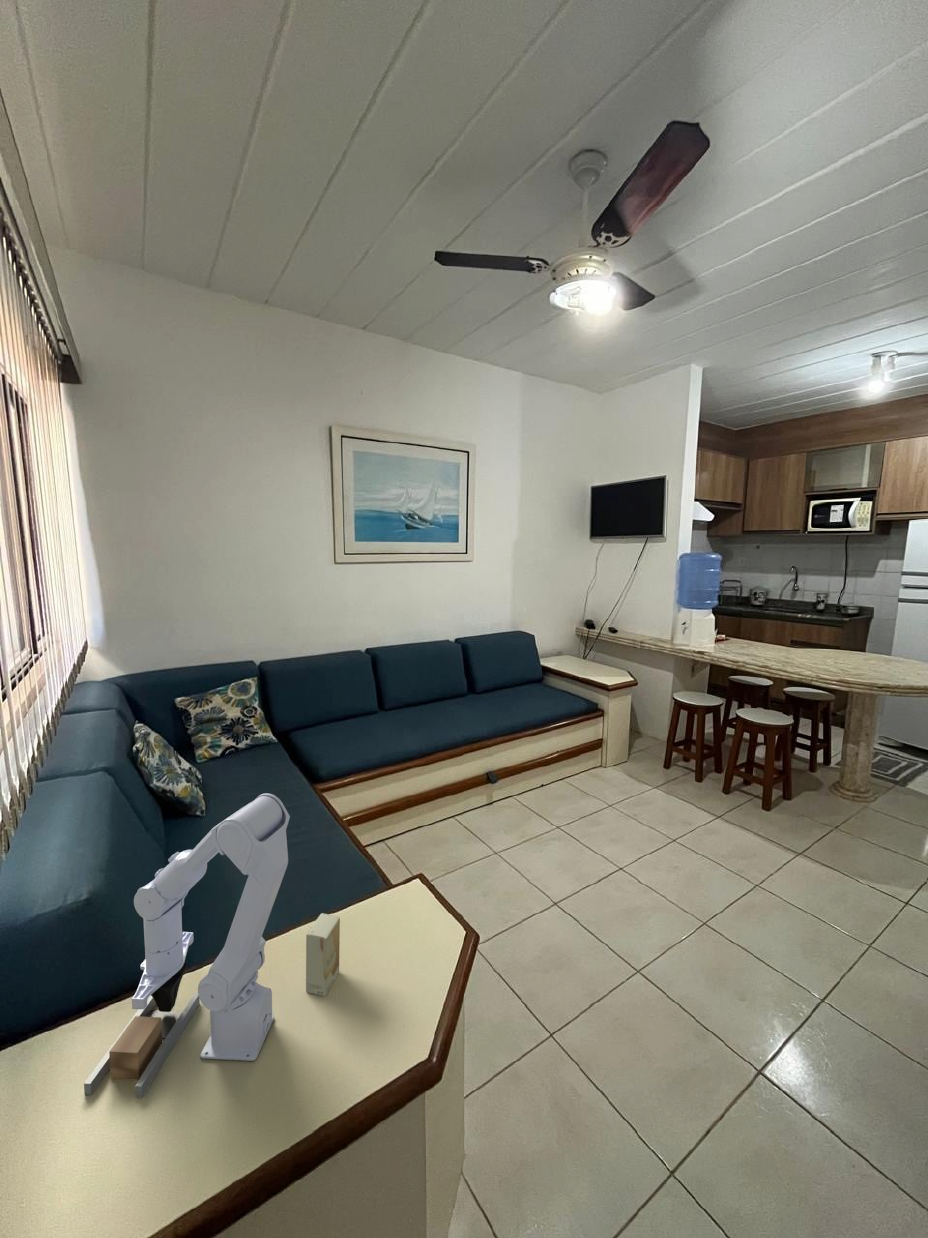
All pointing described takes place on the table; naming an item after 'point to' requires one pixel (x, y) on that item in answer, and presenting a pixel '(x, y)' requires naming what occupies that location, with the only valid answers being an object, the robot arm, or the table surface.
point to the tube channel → (170, 1033)
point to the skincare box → (322, 954)
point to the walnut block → (135, 1048)
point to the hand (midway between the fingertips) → (166, 1008)
